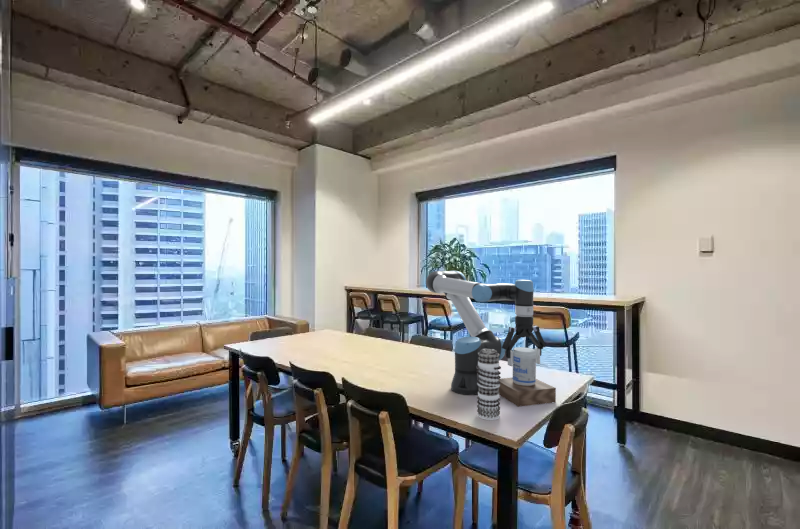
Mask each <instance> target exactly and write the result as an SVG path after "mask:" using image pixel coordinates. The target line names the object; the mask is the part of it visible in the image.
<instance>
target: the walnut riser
mask: <svg viewBox="0 0 800 529" xmlns="http://www.w3.org/2000/svg"><path fill="white" fill-rule="evenodd" d="M498 380H499V381H500V387H499V397H502V398H503V399H504V400H506V401H508V402H510V403H511V404H513V405H515V406H516V407H517V408H519V407H526V406H536V405H537V406H538V405H544V404H545V403H546V404H553V403H552V402H554V403H556V402H557V401H556V399H557V397H556V396H557V394H556V393H557V390H556V387H555V386H553V385H550V384H548V383H547V382H544V381H542V380H539V379H537V378H536V383H535V384H534V385H532V386H521V385H517V384H515V383H514V382H513V377H503V378H500V379H498Z"/></svg>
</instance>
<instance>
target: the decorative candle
mask: <svg viewBox="0 0 800 529" xmlns="http://www.w3.org/2000/svg"><path fill="white" fill-rule="evenodd" d="M478 354H479V356H478V359H479V360H478V365H477V366H476V368H477V371H476V372H477V374H478V375H477V378H478V379H477V382H478V383H477V385H478V386H479V387H478V390H479V391H478V394H477V396H476V399H477V401H476V403H477V405H476V408H477V409H476V412H477V413H476V414H477V415H476V416H477V418H480V419H481V420H485V421H486V420H487V421H495V420H499V419H500V418H501V415H500V414H501V406H500V404H501V402H500V401H501V398H500V395H499V387H500V381H499V380H498V379H502V378H501V377H502V376H500V375H501V371H499V370H501V369H502V367H501V366H500V361H499V355H500V354H498V353H497V351H496V350H494V349H482V350H481V351H480V352H479V353H478ZM478 366H479V368H478ZM478 371H479V372H478Z"/></svg>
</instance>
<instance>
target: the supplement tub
mask: <svg viewBox="0 0 800 529" xmlns="http://www.w3.org/2000/svg"><path fill="white" fill-rule="evenodd" d="M512 351H513V366H512V378H513V382H514V383H515V384H517V385H521V386H532V385H534V384H535V383H536V379H537V378H536V377H537V375H536V374H537V363H536V350H535V348H531V347H523V346H521V347H520V346H519V347H514V348H513V350H512Z"/></svg>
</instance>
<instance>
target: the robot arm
mask: <svg viewBox="0 0 800 529" xmlns="http://www.w3.org/2000/svg"><path fill="white" fill-rule="evenodd" d="M425 285H426V288H427V289H428V290H429V291H430V292H431V293H435V294H444V295H445V297H446V299H447V300H451V302H452V304H453V306H454V308H455V309H456V311H457V313H458V315H459V317H460V319H461V320H462V323H463V324H464V326H465V328H466V330H467V331H468V333H469V336H464V337H460V338H458V339H457V340H456V341H455V343H454V344H455V345H454V373H453V377H452V381H451V382H450V389H451V391H452V392H454V393H456V394H461V395H471V396H474V395H478V391H479V390H478V387H479V386H478V385H477V383H478V382H477V379H478V378H477V375H478V374H477V372H476V371H477V368H476V366H477V365H478V360H479V359H478V356H479V354H478V353H479V352H480V351H481V350H482V349H494V350H496V351H497V353H498V354H500V355H499V362H500V361H501V360H502V359H503V358H504V357H506V358H507V365H508V366H509V367H513V350H512V349H514V348H515V347H514V346H515V345H516V344H517V343H518V342H519V340H520V339H522V338H529V339H530V340H531V342H532V343H533V344H534V345H535V348H534V350H536V365H541V357H542V350H543V349H544V348H546V342H545V341H544V338H543V336H542V333H541V331H540V326H538V325H534V316H533V315H534V291H535V288H534V282H533V281H532V279H516V280H515V282H514V283H505V282H502V283H501V282H498V283H481V282H475V281H470V280H467V278H466V276H465V275H464V274H463V273H462V272H461V271H458V270H434V271H431V272H430V273H429V274H428V275H427V277H426V280H425ZM471 299H474V300H475V302H478V303H479V302H481V303H485V302H496V301H510V302H511V301H513V302H514V314H515V316H514V324H515V326H514V327H512V326H509V327H508V332H507V334H506V335H505V339H504V340H503V338H501V337H499V336H496V335H495V334H494V332H493V331H492V330H491V329H488V328H487V327H486V325H485V323H484V321H483V320H482V318H481V316H480V315H479V313H478V310H476V308H475V307H474V305H473V302H472V301H471ZM533 332H534V333H533ZM534 334H535V335H534ZM513 347H514V348H513ZM478 368H479V366H478ZM478 372H479V371H478Z"/></svg>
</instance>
